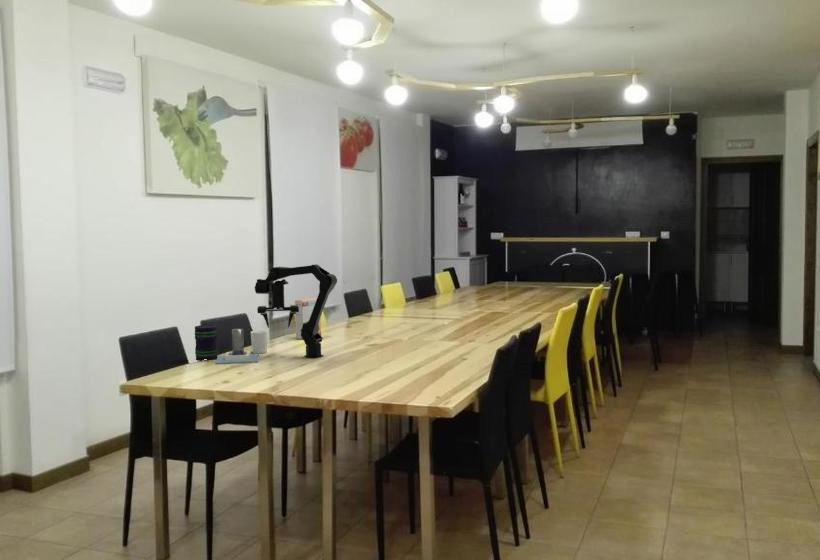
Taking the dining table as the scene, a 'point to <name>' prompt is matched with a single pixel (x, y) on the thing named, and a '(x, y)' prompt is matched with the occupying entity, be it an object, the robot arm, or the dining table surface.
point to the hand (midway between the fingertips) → (278, 327)
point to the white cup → (259, 341)
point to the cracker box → (304, 314)
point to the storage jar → (206, 342)
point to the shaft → (237, 342)
